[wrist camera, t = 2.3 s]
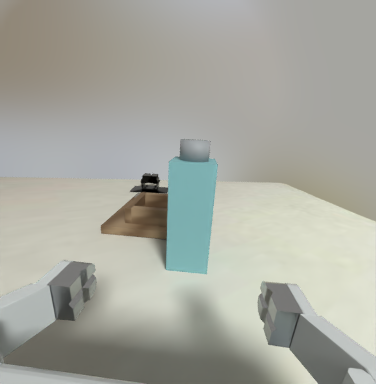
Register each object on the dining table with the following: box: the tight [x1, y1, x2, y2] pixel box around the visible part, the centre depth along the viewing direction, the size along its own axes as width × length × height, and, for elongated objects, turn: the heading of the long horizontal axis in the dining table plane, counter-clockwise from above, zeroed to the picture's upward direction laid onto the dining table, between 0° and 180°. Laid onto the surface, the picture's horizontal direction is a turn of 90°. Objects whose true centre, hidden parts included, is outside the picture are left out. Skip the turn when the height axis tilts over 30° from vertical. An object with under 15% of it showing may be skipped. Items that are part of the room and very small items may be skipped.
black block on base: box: [130, 173, 168, 194], centre depth 50 cm, size 12×7×5 cm, turn 91°
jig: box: [101, 192, 168, 239], centre depth 33 cm, size 14×14×4 cm
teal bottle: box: [166, 139, 218, 274], centre depth 21 cm, size 4×4×14 cm
